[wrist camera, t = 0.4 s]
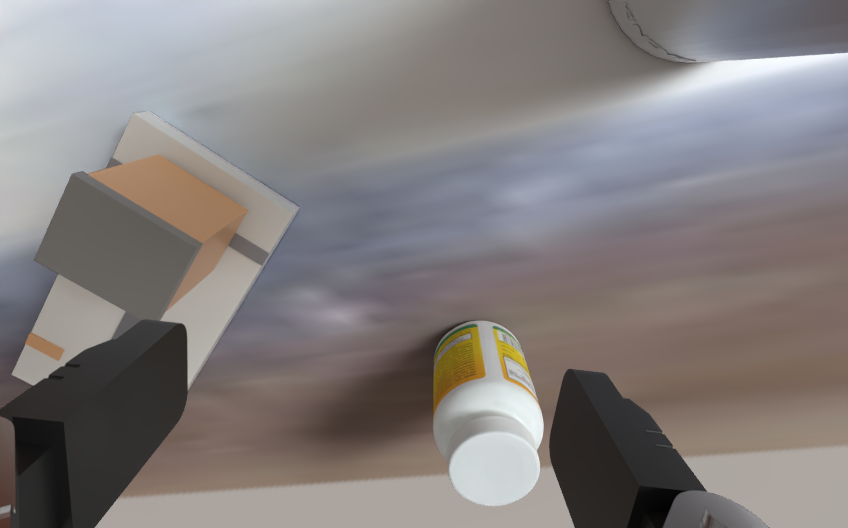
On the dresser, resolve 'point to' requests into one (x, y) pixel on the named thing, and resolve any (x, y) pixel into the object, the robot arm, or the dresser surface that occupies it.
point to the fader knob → (139, 234)
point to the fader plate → (204, 304)
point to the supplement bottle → (486, 414)
